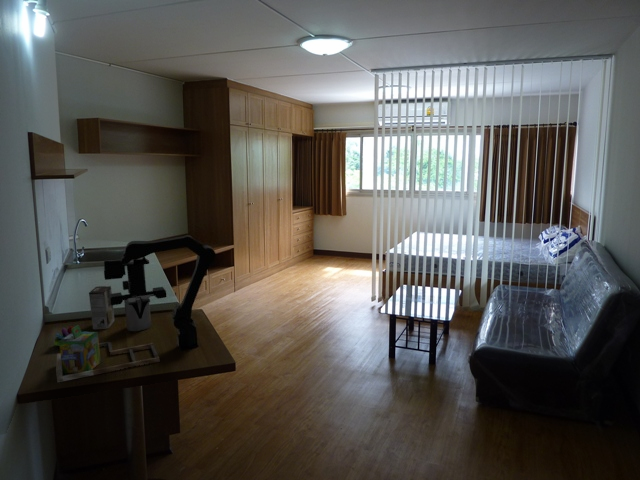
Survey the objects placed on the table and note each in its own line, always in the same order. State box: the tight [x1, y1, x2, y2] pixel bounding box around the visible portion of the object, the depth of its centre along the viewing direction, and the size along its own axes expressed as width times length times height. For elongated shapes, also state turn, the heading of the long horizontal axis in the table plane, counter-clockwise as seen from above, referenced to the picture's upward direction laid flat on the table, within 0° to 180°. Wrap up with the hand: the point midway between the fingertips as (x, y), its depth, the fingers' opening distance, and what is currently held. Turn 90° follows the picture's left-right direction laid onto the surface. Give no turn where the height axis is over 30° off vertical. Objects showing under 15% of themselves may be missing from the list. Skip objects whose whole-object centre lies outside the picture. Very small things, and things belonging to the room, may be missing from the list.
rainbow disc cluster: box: [53, 326, 78, 346], centre depth 182 cm, size 8×10×7 cm
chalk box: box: [59, 324, 102, 375], centre depth 161 cm, size 9×9×15 cm
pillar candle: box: [123, 296, 152, 332], centre depth 199 cm, size 10×10×15 cm
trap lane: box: [55, 341, 161, 383], centre depth 170 cm, size 32×25×4 cm
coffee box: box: [88, 285, 116, 330], centre depth 201 cm, size 9×6×16 cm
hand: (140, 318), depth 172 cm, fingers closed
